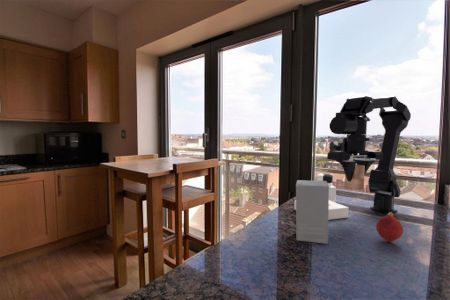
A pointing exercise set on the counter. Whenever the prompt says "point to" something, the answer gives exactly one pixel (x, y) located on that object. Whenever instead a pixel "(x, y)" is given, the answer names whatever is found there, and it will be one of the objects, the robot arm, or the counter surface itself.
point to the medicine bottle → (329, 181)
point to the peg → (356, 178)
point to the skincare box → (312, 211)
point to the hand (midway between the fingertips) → (354, 181)
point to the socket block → (334, 210)
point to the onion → (389, 228)
